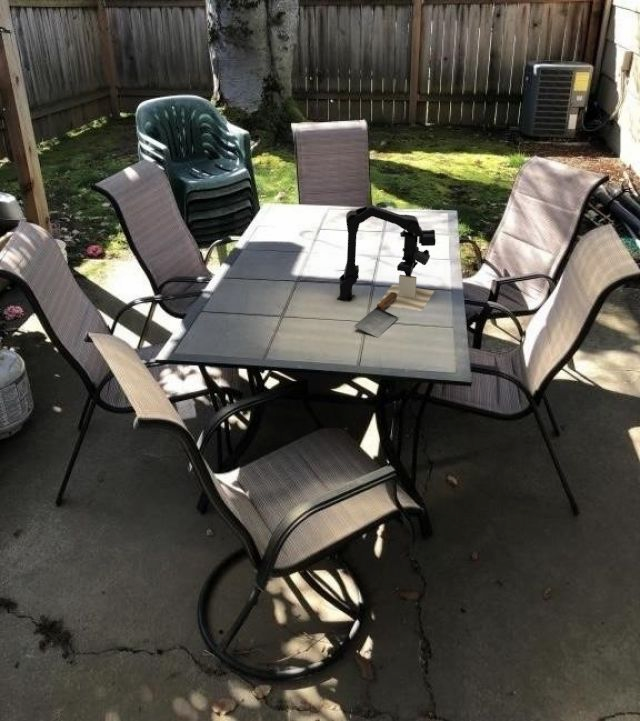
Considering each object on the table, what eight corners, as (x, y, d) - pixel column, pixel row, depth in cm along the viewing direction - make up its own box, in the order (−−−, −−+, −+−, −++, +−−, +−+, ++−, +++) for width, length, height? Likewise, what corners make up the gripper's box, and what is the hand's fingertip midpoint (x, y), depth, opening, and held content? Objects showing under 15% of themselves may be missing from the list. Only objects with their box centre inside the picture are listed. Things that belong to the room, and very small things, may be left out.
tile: (414, 298, 293) (415, 278, 287) (398, 295, 296) (399, 276, 290) (415, 296, 294) (416, 276, 289) (399, 294, 297) (400, 274, 291)
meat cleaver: (378, 337, 265) (378, 328, 263) (353, 330, 270) (353, 322, 268) (413, 303, 289) (413, 295, 287) (390, 298, 294) (390, 290, 292)
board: (421, 313, 283) (421, 311, 282) (377, 306, 290) (377, 304, 289) (434, 292, 300) (434, 290, 299) (392, 286, 307) (392, 284, 306)
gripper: (423, 255, 274) (420, 289, 282) (434, 240, 289) (431, 273, 297) (397, 252, 278) (396, 286, 286) (409, 237, 292) (407, 270, 301)
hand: (408, 278), depth 292 cm, fingers closed
